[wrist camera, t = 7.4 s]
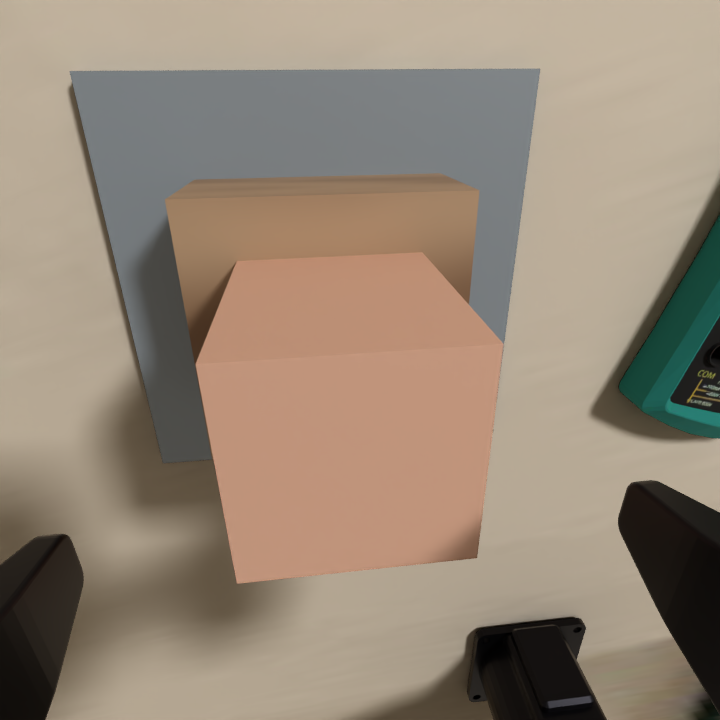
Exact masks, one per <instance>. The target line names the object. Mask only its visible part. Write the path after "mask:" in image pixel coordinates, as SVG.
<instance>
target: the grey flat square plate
mask: <svg viewBox="0 0 720 720" xmlns="http://www.w3.org/2000/svg"><path fill="white" fill-rule="evenodd" d="M539 74H540V69H394V70H201V71H70V75H71V79H72V83H73V88H74V92H75V96H76V100H77V104H78V109H79V113H80V117H81V121H82V125H83V129H84V134H85V138H86V142H87V146H88V150H89V155H90V159H91V163H92V167H93V171H94V176H95V180H96V184H97V188H98V192H99V197H100V201H101V205H102V209H103V213H104V218H105V222H106V226H107V230H108V234H109V239H110V243H111V247H112V251H113V255H114V259H115V264H116V268H117V272H118V276H119V280H120V285H121V289H122V293H123V297H124V301H125V306H126V310H127V314H128V318H129V322H130V327H131V331H132V335H133V339H134V343H135V348H136V352H137V356H138V360H139V364H140V368H141V373H142V377H143V381H144V385H145V389H146V394H147V398H148V402H149V406H150V410H151V415H152V419H153V423H154V427H155V431H156V436H157V440H158V444H159V448H160V452H161V457H162V461H163V463H173V462H186V461H198V460H211V459H212V456H211V451H210V445H209V440H208V434H207V429H206V423H205V418H204V412H203V407H202V401H201V396H200V390H199V385H198V379H197V374H196V368H195V363H194V357H193V352H192V346H191V341H190V335H189V330H188V324H187V319H186V313H185V308H184V302H183V297H182V291H181V286H180V280H179V275H178V269H177V264H176V258H175V253H174V247H173V242H172V236H171V231H170V225H169V220H168V214H167V209H166V203H165V199H166V198H168V197H169V196H171V195H172V194H174V193H175V192H177V191H178V190H180V189H181V188H183V187H184V186H186V185H187V184H189V183H190V182H192V181H193V180H197V179H236V178H275V177H313V176H352V175H391V174H430V173H441V174H443V175H446V176H448V177H450V178H452V179H455V180H457V181H459V182H462V183H464V184H466V185H468V186H471V187H473V188H475V189H478V190H480V191H479V201H478V212H477V223H476V234H475V245H474V255H473V266H472V277H471V288H470V299H469V305H470V307H471V308H472V309H473V310H474V311H475V312H476V313H477V314H478V316H479V317H480V318H481V319H482V320H483V321H484V322H485V323H486V325H487V326H488V327H489V328H490V329H491V330H492V331H493V332H494V334H495V335H496V336H497V337H498V338H499V339H500V340H501V342H502V343H503V348H504V340H505V332H506V325H507V317H508V310H509V302H510V294H511V287H512V279H513V272H514V264H515V256H516V249H517V241H518V234H519V226H520V218H521V211H522V203H523V196H524V188H525V180H526V173H527V165H528V158H529V150H530V142H531V135H532V127H533V120H534V112H535V104H536V97H537V89H538V81H539ZM502 355H503V352H502ZM501 363H502V360H501ZM500 371H501V368H500ZM499 378H500V376H499ZM498 386H499V384H498ZM497 393H498V392H497Z"/></svg>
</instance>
